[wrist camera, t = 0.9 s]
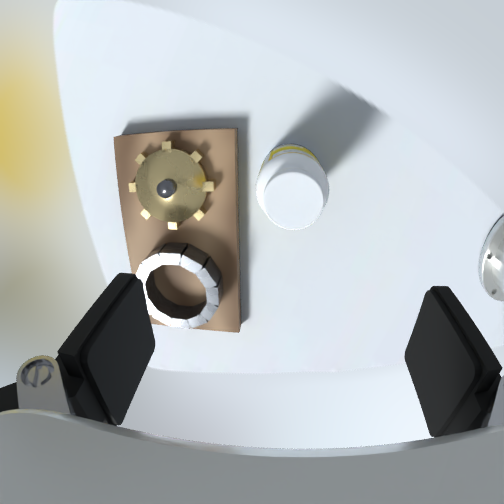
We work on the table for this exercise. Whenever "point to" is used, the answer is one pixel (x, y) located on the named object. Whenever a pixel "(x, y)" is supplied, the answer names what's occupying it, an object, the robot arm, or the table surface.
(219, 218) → the gear board
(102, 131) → the table surface
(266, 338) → the table surface
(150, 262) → the socket ring
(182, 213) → the brass gear
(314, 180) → the supplement bottle
